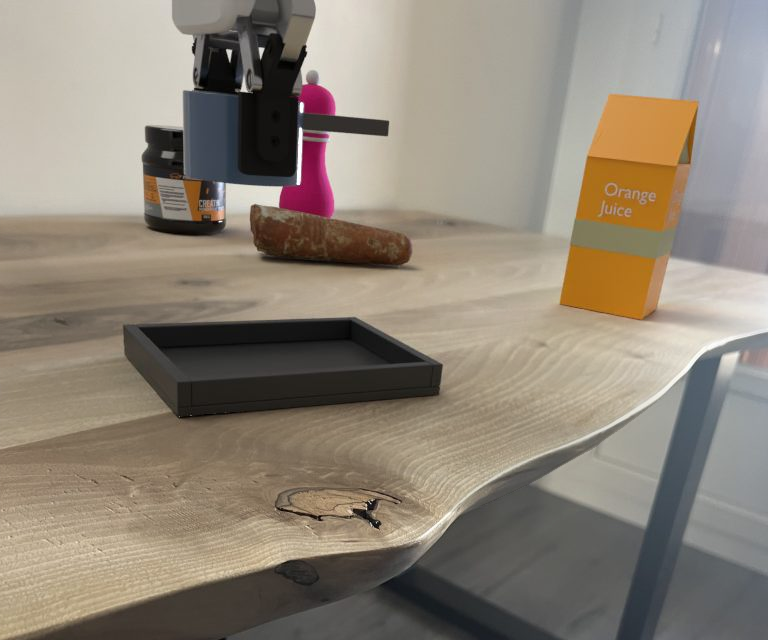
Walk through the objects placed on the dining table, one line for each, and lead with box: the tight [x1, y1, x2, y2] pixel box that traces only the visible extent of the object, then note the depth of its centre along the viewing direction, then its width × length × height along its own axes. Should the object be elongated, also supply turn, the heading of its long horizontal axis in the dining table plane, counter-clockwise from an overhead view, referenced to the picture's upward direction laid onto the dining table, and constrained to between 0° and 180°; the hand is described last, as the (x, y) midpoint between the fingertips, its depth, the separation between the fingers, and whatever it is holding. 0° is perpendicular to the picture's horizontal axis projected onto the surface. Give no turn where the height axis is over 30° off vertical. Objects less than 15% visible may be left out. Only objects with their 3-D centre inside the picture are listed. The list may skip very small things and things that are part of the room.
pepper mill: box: [278, 69, 337, 219], centre depth 104 cm, size 7×7×20 cm
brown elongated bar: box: [249, 203, 414, 266], centre depth 94 cm, size 6×19×6 cm, turn 96°
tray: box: [122, 316, 444, 418], centre depth 54 cm, size 18×13×2 cm
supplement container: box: [141, 124, 227, 236], centre depth 104 cm, size 10×10×12 cm
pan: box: [182, 89, 390, 188], centre depth 49 cm, size 13×7×4 cm, turn 119°
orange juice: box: [558, 93, 700, 321], centre depth 83 cm, size 8×9×20 cm
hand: (242, 165), depth 48 cm, fingers closed on pan, 6 cm apart
